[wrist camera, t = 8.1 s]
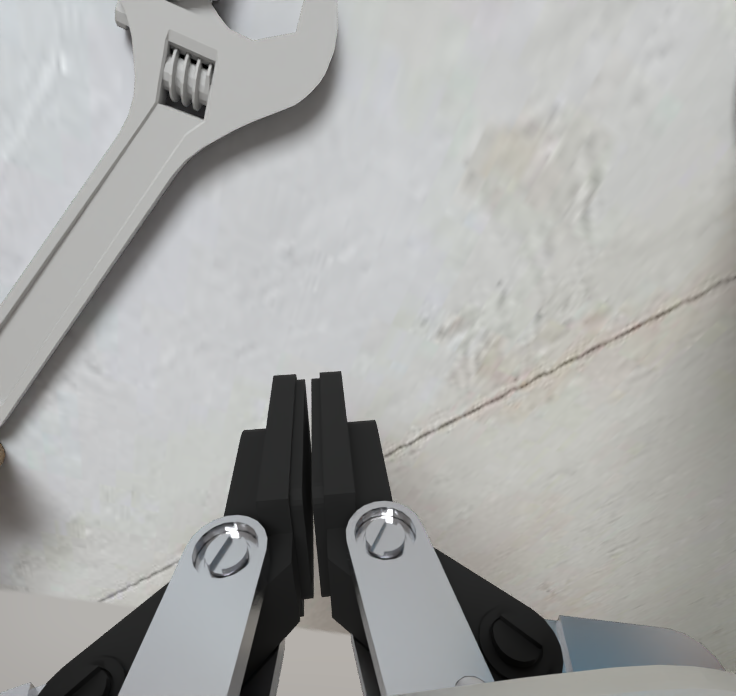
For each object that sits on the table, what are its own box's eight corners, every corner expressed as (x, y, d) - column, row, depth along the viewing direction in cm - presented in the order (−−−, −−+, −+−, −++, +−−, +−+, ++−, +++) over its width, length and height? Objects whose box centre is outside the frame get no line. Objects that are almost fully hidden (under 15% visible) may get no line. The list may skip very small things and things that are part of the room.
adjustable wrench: (1, 432, 22) (-20, 455, 21) (-149, 357, 19) (-187, 377, 18) (359, 39, 17) (366, 31, 16) (227, -141, 14) (219, -173, 13)
